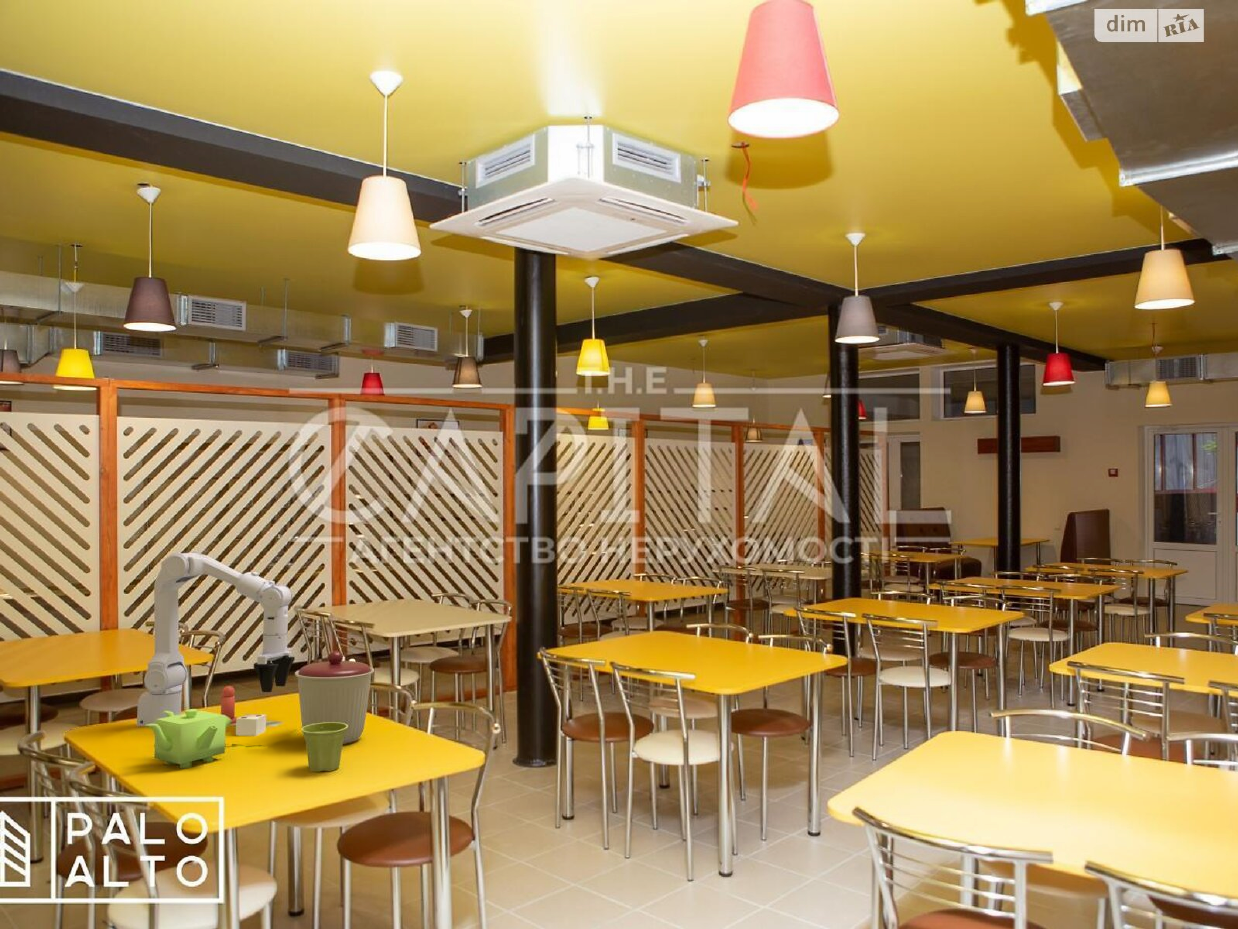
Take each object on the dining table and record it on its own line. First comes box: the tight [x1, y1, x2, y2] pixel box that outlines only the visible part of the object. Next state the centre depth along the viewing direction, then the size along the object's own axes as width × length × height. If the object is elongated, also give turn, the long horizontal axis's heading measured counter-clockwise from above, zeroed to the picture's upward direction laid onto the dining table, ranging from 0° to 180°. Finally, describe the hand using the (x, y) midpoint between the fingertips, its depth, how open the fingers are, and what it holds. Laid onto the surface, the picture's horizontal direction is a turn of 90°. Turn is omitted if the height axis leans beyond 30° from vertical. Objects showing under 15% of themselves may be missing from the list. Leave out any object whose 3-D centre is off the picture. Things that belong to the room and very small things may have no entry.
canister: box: [294, 650, 375, 745], centre depth 216 cm, size 18×18×21 cm
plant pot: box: [301, 722, 348, 773], centre depth 192 cm, size 9×9×9 cm
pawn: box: [220, 685, 238, 725], centre depth 229 cm, size 5×5×9 cm
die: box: [235, 713, 267, 737], centre depth 218 cm, size 5×5×5 cm
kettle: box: [144, 708, 232, 769], centre depth 196 cm, size 15×14×11 cm
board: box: [228, 720, 285, 727], centre depth 228 cm, size 23×7×1 cm, turn 86°
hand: (273, 689), depth 226 cm, fingers open, 7 cm apart
